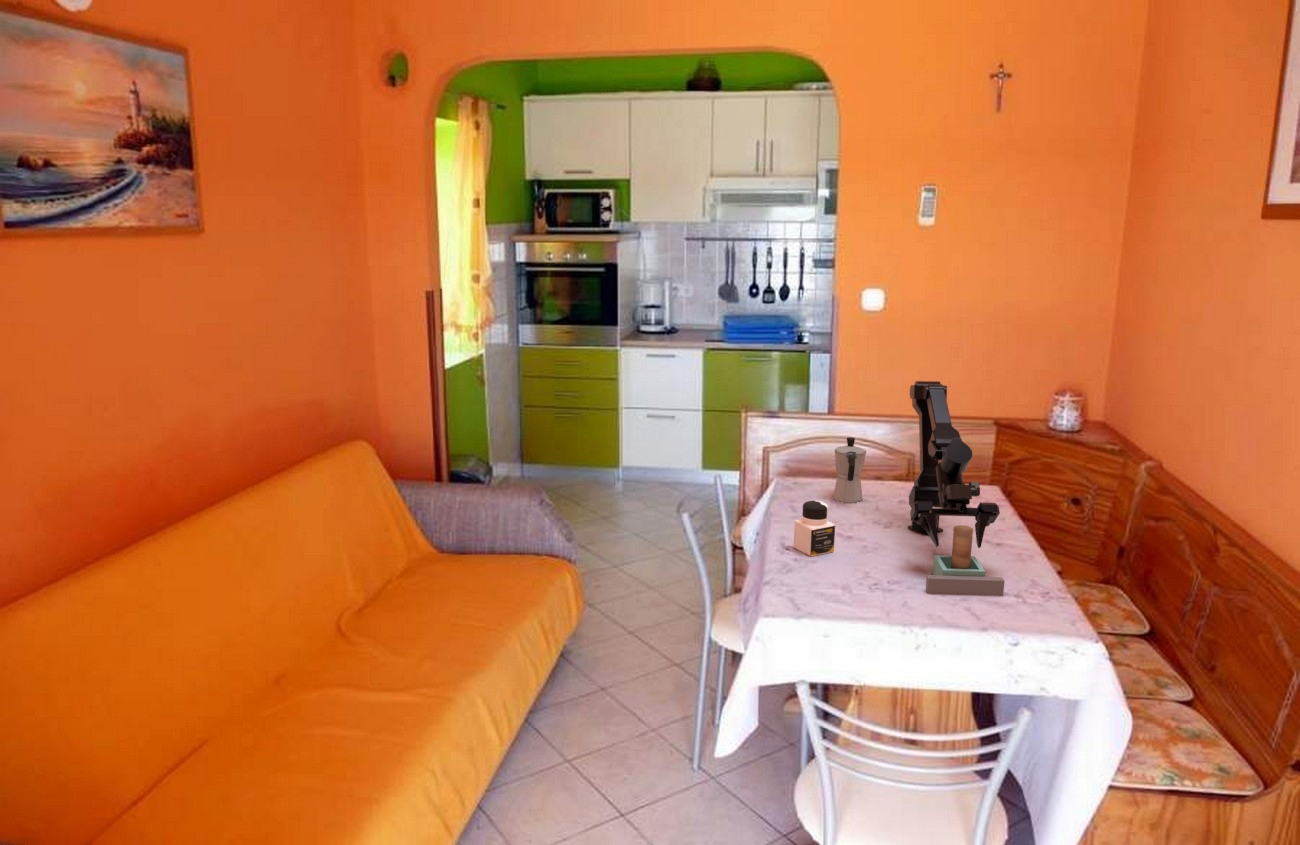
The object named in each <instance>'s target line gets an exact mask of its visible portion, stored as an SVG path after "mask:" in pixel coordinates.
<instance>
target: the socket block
mask: <svg viewBox="0 0 1300 845" xmlns="http://www.w3.org/2000/svg"><path fill="white" fill-rule="evenodd" d="M951 558H952V555H951V554H950V555H949V554H948V555H947V554H946V555H945V554H943V555H942V554H934V555H933V562H932V563H933V564H932V565H933V567H932V575H944V576H977V577H986V570H985V569H984V567H983V566H982V565H981V563H980V562H979V560H978V559H977V558H976V556H974V555H971V560H970V569H951Z"/></svg>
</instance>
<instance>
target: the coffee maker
mask: <svg viewBox="0 0 1300 845" xmlns="http://www.w3.org/2000/svg"><path fill="white" fill-rule="evenodd" d="M855 441H856V438H855V437H852V436H849V437H846V443H847V445H842V446H838V447H837V448H835V449H834V458H835V470H836V472H837V477H836V482H835V485H834V492H833V495H832V498H834V499H833V501H835V500H837V501H836V502H838V501H839V502H838V503H841V502H843V503H842V504H852V503H855V504H858V503H857V502H859V503H862V502H863V491H862V479H861V474H862V473H863V469H864V464H865V459H866V454H867V450H865V449H864V448H862V447H860V446H855ZM861 501H862V502H861Z"/></svg>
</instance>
